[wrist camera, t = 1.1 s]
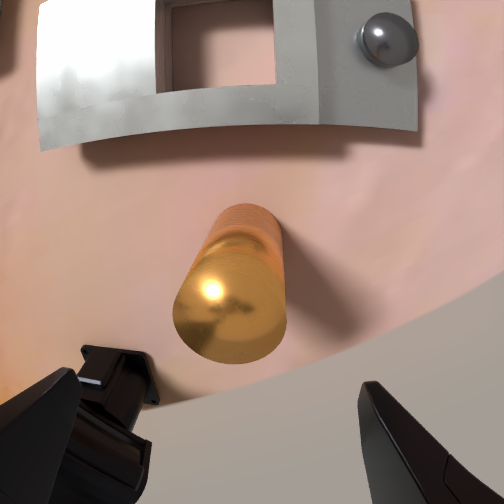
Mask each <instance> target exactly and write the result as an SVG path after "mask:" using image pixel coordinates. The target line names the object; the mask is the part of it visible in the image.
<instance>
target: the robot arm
mask: <svg viewBox="0 0 504 504" xmlns="http://www.w3.org/2000/svg"><path fill="white" fill-rule="evenodd" d="M81 353H82V355H83V358H84V360H85V363H84V365H83V366H82V368H81V369H80V371H79V372H78V374H77V375H76V373H75V371H74V370H73V369H71V368H66V367H62V368H60V369H58V370H57V371H55V372H53V373H52V374H50V375H48V376H47V377H45V378H44V379H42V380H40V381H39V382H37V383H36V384H34V385H32V386H31V387H29V388H28V389H26V390H24V391H23V392H21V393H19V394H18V395H16V396H15V397H13V398H11V399H10V400H8V401H7V402H5V403H3V404H2V405H0V504H135V503H136V502H137V500H138V499H139V498H140V496H141V495H142V493H143V491H144V489H145V486H146V483H147V479H148V470H149V463H150V455H151V447H152V442H150V441H148V440H144V439H142V438H141V437H139V436H137V435H135V434H134V433H132V430H133V428H134V425H135V423H136V420H137V418H138V415H139V413H140V410H141V408H142V405H143V403H144V404H151V405H158V404H159V402H160V398H159V395H158V392H157V389H156V386H155V383H154V380H153V377H152V374H151V370H150V367H149V364H148V361H147V357H146V355H145V354H144V353H142V352H139V351H130V350H121V349H112V348H104V347H97V346H90V345H83V346H82V348H81ZM140 357H141V358H140ZM358 415H359V425H360V434H361V446H362V453H363V458H364V464H365V468H366V473H367V478H368V483H369V488H370V493H371V498H372V503H373V504H504V498H502V497H501V496H500V495H498V494H497V493H496V492H494V491H493V490H492V489H490V488H489V487H488V486H487V485H485V484H484V483H482V482H481V481H480V480H479V479H477V478H476V477H475V476H474V475H473V474H471V473H470V472H469V471H468V470H467V469H466V468H465V467H464V466H462V465H461V464H460V463H459V462H458V461H457V460H456V459H455V458H454V457H453V456H452V455H451V454H449V452H448V451H447V450H446V449H445V448H444V447H443V446H442V445H441V444H440V443H439V442H438V441H437V440H436V439H435V438H434V437H433V436H432V435H431V434H430V433H429V432H428V431H427V430H426V429H425V428H424V427H423V426H422V425H421V424H420V423H419V422H418V421H417V420H416V419H415V418H414V417H413V416H412V415H411V414H410V413H409V412H408V411H407V410H406V409H405V408H404V407H403V406H402V405H401V404H400V403H399V402H398V401H397V400H396V399H395V398H394V397H393V396H392V395H391V394H390V393H389V392H388V391H387V390H386V389H385V388H384V387H383V386H382V385H381V384H380V383H379V382H377V381H367V382H364V383H363V384H362V387H361V391H360V394H359V398H358Z"/></svg>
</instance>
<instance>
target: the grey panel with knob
mask: <svg viewBox="0 0 504 504" xmlns="http://www.w3.org/2000/svg"><path fill="white" fill-rule="evenodd" d="M219 1H231V0H51V1H48V2H46V3H44V4H42V5H40V14H39V25H38V39H37V111H38V126H39V138H40V148H41V152H42V151H46V150H51V149H55V148H60V147H65V146H69V145H74V144H80V143H85V142H90V141H96V140H102V139H108V138H114V137H120V136H127V135H134V134H142V133H150V132H158V131H167V130H177V129H188V128H200V127H215V126H233V125H261V124H314V125H319V124H328V125H349V126H365V127H378V128H390V129H400V130H409V131H417V132H418V86H417V63H416V54H417V51H418V46H419V43H418V37H417V34H416V32H415V30H414V26H413V17H412V9H411V2H410V0H272V8H273V28H274V50H275V76H276V85H243V86H226V87H212V88H201V89H191V90H182V91H174V92H173V78H172V31H171V9H172V8H175V7H181V6H187V5H194V4H202V3H210V2H219Z"/></svg>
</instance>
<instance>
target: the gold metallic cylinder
mask: <svg viewBox="0 0 504 504" xmlns="http://www.w3.org/2000/svg"><path fill="white" fill-rule="evenodd" d="M173 321H174V325H175V328H176V330H177V332H178V334H179V336H180V337H181V339H182V340H183V341H184V343H185V344H186V345H187V346H188V347H190V348H191V349H192V350H193V351H195V352H196V353H198V354H199V355H201V356H203V357H205V358H207V359H210V360H212V361H216V362H219V363H225V364H244V363H249V362H253V361H256V360H259V359H261V358H263V357H265V356H267V355H268V354H270V353H271V352H272V351H273V350H274V349H275V348H276V347H277V346H278V345H279V344H280V342H281V341H282V339H283V336H284V334H285V331H286V324H287V319H286V300H285V281H284V264H283V248H282V233H281V229H280V226H279V223H278V222H277V220H276V219H275V217H274V216H273V215H272V214H271V213H270V212H269V211H267V210H266V209H264V208H262V207H260V206H257V205H254V204H238V205H234V206H232V207H230V208H228V209H226V210H225V211H223V212H222V213H221V214H220V215H219V217H218V218H217V219H216V221H215V223H214V225H213V227H212V229H211V230H210V232H209V234H208V236H207V238H206V240H205V242H204V244H203V246H202V247H201V249H200V251H199V253H198V255H197V257H196V259H195V261H194V263H193V265H192V267H191V269H190V271H189V273H188V275H187V277H186V279H185V281H184V282H183V284H182V286H181V288H180V290H179V292H178V294H177V296H176V299H175V301H174V305H173Z"/></svg>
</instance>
